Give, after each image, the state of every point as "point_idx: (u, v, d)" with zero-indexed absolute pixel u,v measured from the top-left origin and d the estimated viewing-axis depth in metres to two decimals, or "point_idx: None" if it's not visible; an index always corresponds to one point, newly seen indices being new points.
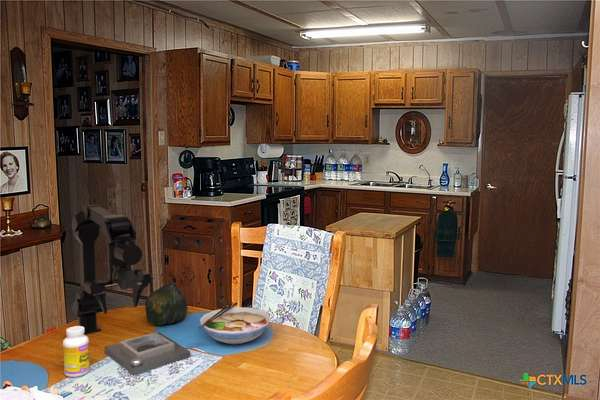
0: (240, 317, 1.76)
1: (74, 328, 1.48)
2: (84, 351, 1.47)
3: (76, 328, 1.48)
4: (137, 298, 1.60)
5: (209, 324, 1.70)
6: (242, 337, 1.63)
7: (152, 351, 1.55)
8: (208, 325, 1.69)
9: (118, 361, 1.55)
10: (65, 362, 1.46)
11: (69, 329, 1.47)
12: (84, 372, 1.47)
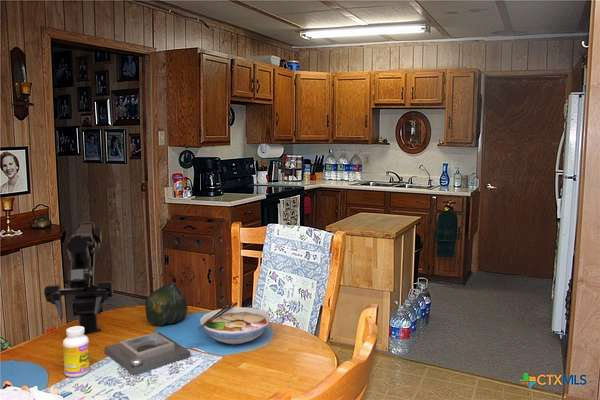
0: (240, 317, 1.76)
1: (74, 328, 1.48)
2: (84, 351, 1.47)
3: (76, 328, 1.48)
4: (96, 305, 1.57)
5: (209, 324, 1.70)
6: (242, 337, 1.63)
7: (152, 351, 1.55)
8: (208, 325, 1.69)
9: (118, 361, 1.55)
10: (65, 362, 1.46)
11: (69, 329, 1.47)
12: (84, 372, 1.47)
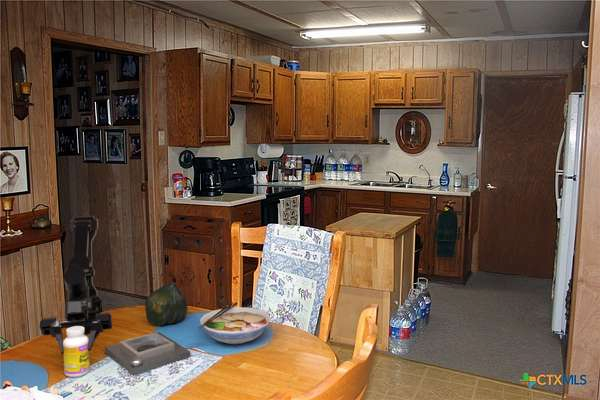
0: (240, 317, 1.76)
1: (74, 328, 1.48)
2: (84, 351, 1.47)
3: (76, 328, 1.48)
4: (90, 339, 1.49)
5: (209, 324, 1.70)
6: (242, 337, 1.63)
7: (152, 351, 1.55)
8: (208, 325, 1.69)
9: (118, 361, 1.55)
10: (65, 362, 1.46)
11: (69, 329, 1.47)
12: (84, 372, 1.47)
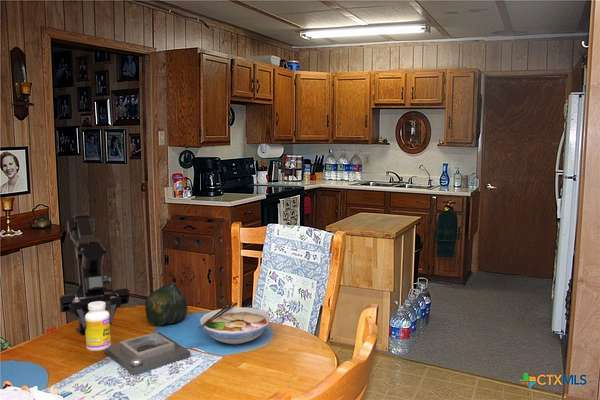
0: (240, 317, 1.76)
1: (95, 303, 1.50)
2: (107, 325, 1.50)
3: (97, 303, 1.50)
4: (111, 313, 1.52)
5: (209, 324, 1.70)
6: (242, 337, 1.63)
7: (152, 351, 1.55)
8: (208, 325, 1.69)
9: (118, 361, 1.55)
10: (88, 336, 1.48)
11: (91, 304, 1.49)
12: (107, 345, 1.50)
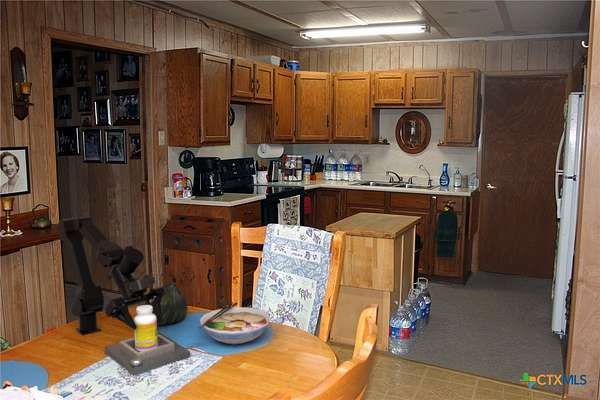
0: (240, 317, 1.76)
1: (142, 307, 1.59)
2: (156, 325, 1.60)
3: (144, 307, 1.59)
4: (159, 310, 1.63)
5: (209, 324, 1.70)
6: (242, 337, 1.63)
7: (152, 351, 1.55)
8: (208, 325, 1.69)
9: (118, 361, 1.55)
10: (142, 339, 1.57)
11: (140, 309, 1.58)
12: (157, 345, 1.61)
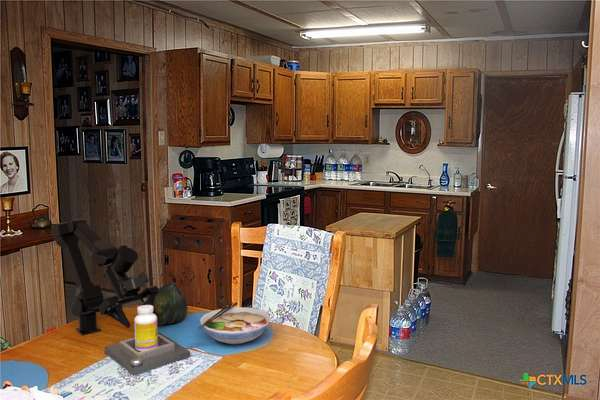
0: (240, 317, 1.76)
1: (143, 307, 1.59)
2: None
3: (145, 306, 1.60)
4: None
5: (209, 324, 1.70)
6: (242, 337, 1.63)
7: (152, 351, 1.55)
8: (208, 325, 1.69)
9: (118, 361, 1.55)
10: (142, 339, 1.57)
11: (141, 308, 1.58)
12: (157, 345, 1.61)
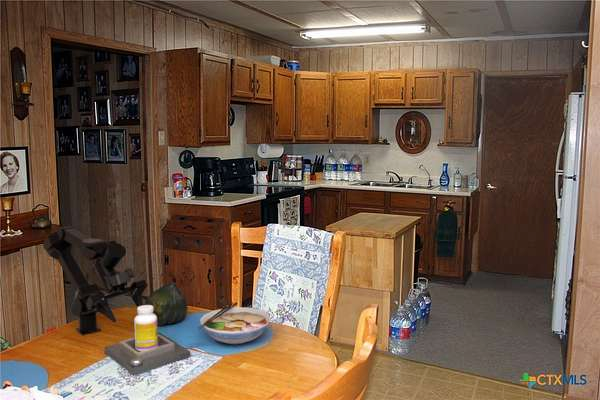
0: (240, 317, 1.76)
1: (143, 307, 1.59)
2: None
3: (145, 307, 1.60)
4: (140, 302, 1.68)
5: (209, 324, 1.70)
6: (242, 337, 1.63)
7: (152, 351, 1.55)
8: (208, 325, 1.69)
9: (118, 361, 1.55)
10: (142, 339, 1.57)
11: (141, 308, 1.58)
12: (157, 345, 1.61)
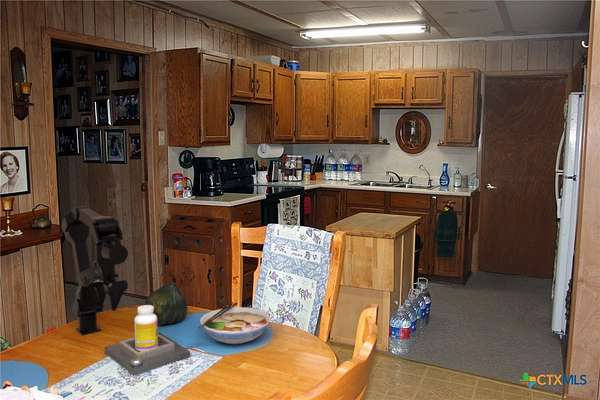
0: (240, 317, 1.76)
1: (143, 307, 1.59)
2: None
3: (145, 307, 1.60)
4: (110, 302, 1.61)
5: (209, 324, 1.70)
6: (242, 337, 1.63)
7: (152, 351, 1.55)
8: (208, 325, 1.69)
9: (118, 361, 1.55)
10: (142, 339, 1.57)
11: (141, 308, 1.58)
12: (157, 345, 1.61)
